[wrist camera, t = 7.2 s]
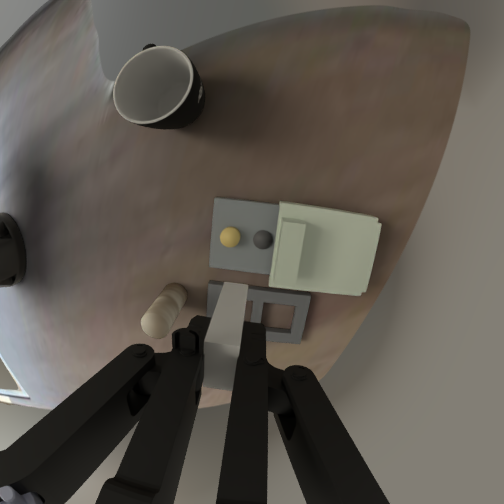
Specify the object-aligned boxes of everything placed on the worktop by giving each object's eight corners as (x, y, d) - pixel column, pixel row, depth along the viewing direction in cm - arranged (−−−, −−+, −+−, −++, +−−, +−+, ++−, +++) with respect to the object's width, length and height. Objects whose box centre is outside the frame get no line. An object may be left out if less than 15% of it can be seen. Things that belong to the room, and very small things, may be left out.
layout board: (211, 263, 37) (207, 270, 35) (216, 196, 35) (212, 198, 32) (299, 274, 37) (301, 281, 35) (309, 208, 35) (313, 211, 32)
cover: (268, 279, 36) (268, 297, 31) (279, 200, 33) (282, 205, 28) (359, 289, 36) (372, 307, 30) (375, 215, 33) (392, 223, 28)
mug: (222, 121, 32) (205, 101, 22) (159, 146, 33) (123, 139, 24) (196, 48, 29) (174, 14, 19) (138, 74, 30) (102, 51, 21)
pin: (164, 302, 40) (141, 335, 31) (164, 281, 38) (139, 310, 30) (186, 307, 40) (168, 341, 31) (187, 285, 38) (168, 316, 30)
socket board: (207, 328, 40) (205, 332, 39) (209, 280, 38) (208, 283, 37) (299, 339, 40) (300, 344, 39) (309, 292, 38) (311, 296, 37)
